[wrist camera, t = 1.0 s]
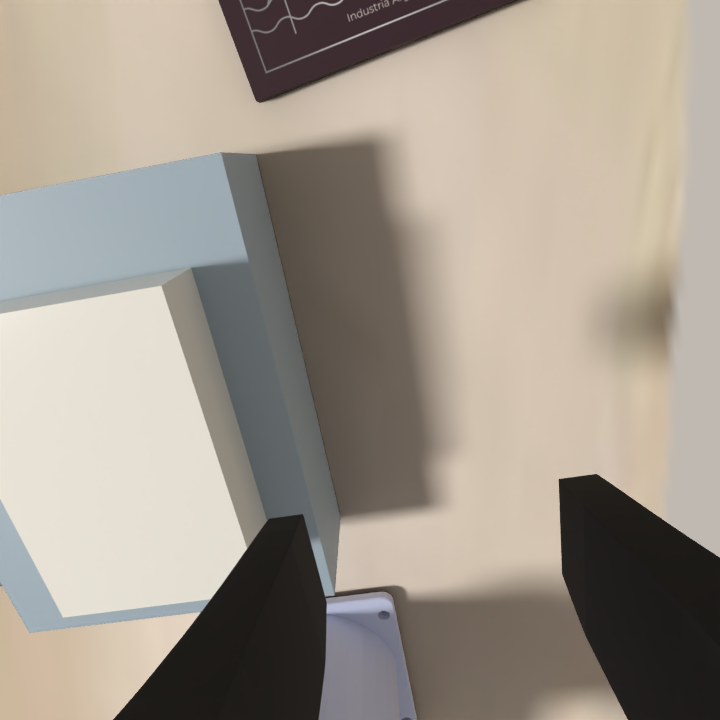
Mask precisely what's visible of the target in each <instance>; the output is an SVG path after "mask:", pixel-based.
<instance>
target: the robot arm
mask: <svg viewBox="0 0 720 720" xmlns="http://www.w3.org/2000/svg"><path fill="white" fill-rule="evenodd" d="M559 497H560V525H561V553H562V575H563V577H564V580H565V583H566V586H567V588H568V591H569V594H570V596H571V599H572V602H573V604H574V607H575V610H576V612H577V615H578V617H579V620H580V623H581V625H582V628H583V630H584V633H585V635H586V637H587V639H588V641H589V643H590V645H591V648H592V650H593V652H594V654H595V656H596V658H597V660H598V661H599V663H600V665H601V667H602V669H603V671H604V673H605V675H606V677H607V679H608V681H609V683H610V685H611V687H612V689H613V691H614V693H615V695H616V697H617V699H618V701H619V703H620V705H621V707H622V709H623V711H624V713H625V715H626V717H627V719H628V720H720V558H719V557H718V556H716V555H715V554H713V553H712V552H710V551H709V550H707V549H706V548H704V547H703V546H701V545H699V544H698V543H697V542H695V541H693V540H692V539H690V538H689V537H687V536H686V535H685V534H683V533H682V532H680V531H678V530H677V529H676V528H674V527H673V526H671V525H670V524H668V523H667V522H665V521H664V520H662V519H661V518H660V517H658V516H657V515H655V514H654V513H652V512H651V511H649V510H648V509H646V508H645V507H644V506H642V505H641V504H639V503H638V502H636V501H635V500H634V499H632V498H631V497H629V496H628V495H626V494H625V493H624V492H622V491H621V490H619V489H618V488H616V487H615V486H613V485H612V484H611V483H609V482H608V481H606V480H605V479H603V478H602V477H600V476H599V475H597V474H594V475H587V476H579V477H572V478H564V479H559ZM381 611H387V612H381ZM113 720H417V715H416V710H415V705H414V700H413V695H412V690H411V685H410V680H409V675H408V670H407V665H406V660H405V655H404V650H403V645H402V640H401V635H400V630H399V625H398V620H397V615H396V610H395V605H394V601H393V598H392V596H391V595H390V594H389V593H386V592H374V593H365V594H357V595H349V596H341V597H333V598H325V594H324V590H323V587H322V583H321V579H320V575H319V572H318V568H317V564H316V560H315V557H314V553H313V549H312V545H311V542H310V538H309V534H308V530H307V526H306V523H305V519H304V515H303V514H299V515H292V516H285V517H277V518H270V519H268V521H267V522H266V523H265V524H264V526H263V527H262V528H261V530H260V531H259V533H258V534H257V535H256V537H255V538H254V540H253V541H252V542H251V544H250V545H249V547H248V548H247V550H246V551H245V552H244V554H243V555H242V557H241V558H240V559H239V561H238V562H237V564H236V565H235V567H234V568H233V569H232V571H231V572H230V574H229V575H228V576H227V578H226V579H225V581H224V582H223V583H222V585H221V586H220V587H219V589H218V590H217V591H216V593H215V594H214V595H213V597H212V598H211V600H210V601H209V602H208V604H207V605H206V606H205V608H204V609H203V610H202V612H201V613H200V614H199V616H198V617H197V618H196V620H195V621H194V622H193V624H192V625H191V626H190V628H189V629H188V630H187V631H186V633H185V634H184V635H183V637H182V638H181V639H180V640H179V642H178V643H177V644H176V645H175V646H174V648H173V649H172V650H171V651H170V653H169V654H168V655H167V656H166V658H165V659H164V660H163V661H162V663H161V664H160V665H159V666H158V667H157V669H156V670H155V671H154V672H153V674H152V675H151V676H150V677H149V679H148V680H147V681H146V682H145V683H144V685H143V686H142V687H141V688H140V689H139V691H138V692H137V693H136V694H135V695H134V696H133V698H132V699H131V700H130V701H129V702H128V703H127V704H126V706H125V707H124V708H123V709H122V710H121V711H120V713H119V714H118V715H117V716H116V717H115V718H114V719H113Z"/></svg>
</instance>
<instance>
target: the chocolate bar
mask: <svg viewBox="0 0 720 720" xmlns="http://www.w3.org/2000/svg"><path fill="white" fill-rule="evenodd" d="M515 1H517V0H219V3H220V6H221V8H222V11H223V14H224V16H225V19H226V22H227V25H228V27H229V30H230V33H231V35H232V38H233V41H234V43H235V46H236V49H237V51H238V54H239V57H240V59H241V62H242V65H243V67H244V70H245V73H246V75H247V78H248V81H249V83H250V86H251V89H252V91H253V94H254V97H255V99H256V101H257V102H259V103H260V102H263V101H265V100H268V99H270V98H273V97H275V96H278V95H280V94H283V93H285V92H288V91H290V90H293V89H295V88H298V87H300V86H303V85H305V84H308V83H310V82H313V81H316V80H318V79H321V78H323V77H326V76H328V75H331V74H333V73H336V72H338V71H341V70H343V69H346V68H348V67H351V66H353V65H356V64H358V63H361V62H363V61H366V60H368V59H371V58H374V57H376V56H379V55H381V54H384V53H386V52H389V51H391V50H394V49H396V48H399V47H401V46H404V45H406V44H409V43H411V42H414V41H416V40H419V39H421V38H424V37H427V36H429V35H432V34H434V33H437V32H439V31H442V30H444V29H447V28H449V27H452V26H454V25H457V24H459V23H462V22H464V21H467V20H469V19H472V18H474V17H477V16H479V15H482V14H485V13H487V12H490V11H492V10H495V9H497V8H500V7H502V6H505V5H507V4H510V3H512V2H515Z"/></svg>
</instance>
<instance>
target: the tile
mask: <svg viewBox="0 0 720 720" xmlns="http://www.w3.org/2000/svg"><path fill="white" fill-rule="evenodd" d="M0 500H1V502H2V503H3V505H4V507H5V509H6V511H7V513H8V515H9V517H10V519H11V520H12V522H13V524H14V526H15V528H16V530H17V532H18V534H19V535H20V537H21V539H22V541H23V543H24V545H25V547H26V549H27V551H28V552H29V554H30V556H31V558H32V560H33V562H34V564H35V566H36V568H37V569H38V571H39V573H40V575H41V577H42V579H43V581H44V583H45V584H46V586H47V588H48V590H49V592H50V594H51V596H52V598H53V600H54V601H55V603H56V605H57V607H58V609H59V611H60V613H61V615H62V616H63V618H64V617H72V616H80V615H88V614H96V613H104V612H112V611H120V610H129V609H137V608H145V607H153V606H161V605H169V604H177V603H185V602H193V601H201V600H209V599H211V598H212V597H213V595H214V594H215V593H216V591H217V590H218V589H219V587H220V586H221V585H222V583H223V582H224V581H225V579H226V578H227V576H228V575H229V574H230V572H231V571H232V569H233V568H234V567H235V565H236V564H237V562H238V561H239V559H240V558H241V557H242V555H243V554H244V552H245V551H246V550H247V548H248V547H249V545H250V544H251V542H252V541H253V540H254V538H255V537H256V535H257V534H258V533H259V531H260V530H261V528H262V527H263V526H264V524H265V523H266V522H267V519H266V515H265V512H264V509H263V505H262V502H261V499H260V495H259V492H258V489H257V485H256V482H255V479H254V475H253V472H252V469H251V465H250V462H249V459H248V455H247V452H246V449H245V445H244V442H243V439H242V435H241V432H240V429H239V425H238V422H237V419H236V415H235V412H234V409H233V405H232V402H231V399H230V395H229V392H228V389H227V385H226V382H225V379H224V375H223V372H222V369H221V365H220V362H219V359H218V355H217V352H216V349H215V345H214V342H213V339H212V335H211V332H210V329H209V325H208V322H207V319H206V315H205V312H204V309H203V305H202V302H201V299H200V295H199V292H198V289H197V286H196V282H195V279H194V276H193V272H192V269H191V268H186V269H180V270H174V271H169V272H163V273H158V274H152V275H146V276H141V277H135V278H129V279H124V280H118V281H112V282H107V283H101V284H96V285H90V286H84V287H79V288H73V289H67V290H62V291H56V292H50V293H45V294H39V295H33V296H28V297H22V298H17V299H11V300H5V301H0Z"/></svg>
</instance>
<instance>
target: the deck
mask: <svg viewBox="0 0 720 720" xmlns="http://www.w3.org/2000/svg"><path fill="white" fill-rule="evenodd" d="M186 268H191V269H192V272H193V276H194V279H195V282H196V286H197V289H198V292H199V295H200V299H201V302H202V305H203V309H204V312H205V315H206V319H207V322H208V325H209V329H210V332H211V335H212V339H213V342H214V345H215V349H216V352H217V355H218V359H219V362H220V365H221V369H222V372H223V375H224V379H225V382H226V385H227V389H228V392H229V395H230V399H231V402H232V405H233V409H234V412H235V415H236V419H237V422H238V425H239V429H240V432H241V435H242V439H243V442H244V445H245V449H246V452H247V455H248V459H249V462H250V465H251V469H252V472H253V475H254V479H255V482H256V485H257V489H258V492H259V495H260V499H261V502H262V505H263V509H264V512H265V515H266V519H267V521H268V519H270V518H277V517H285V516H292V515H299V514H303V515H304V519H305V523H306V526H307V530H308V534H309V538H310V542H311V545H312V549H313V553H314V557H315V560H316V564H317V568H318V572H319V575H320V579H321V583H322V587H323V590H324V594H325V597H326V596H334V595H335V583H336V570H337V556H338V543H339V530H340V513H339V509H338V504H337V500H336V496H335V491H334V487H333V483H332V479H331V474H330V470H329V466H328V461H327V457H326V453H325V449H324V444H323V440H322V436H321V431H320V427H319V423H318V419H317V414H316V410H315V406H314V401H313V397H312V393H311V389H310V384H309V380H308V376H307V371H306V367H305V363H304V359H303V354H302V350H301V346H300V341H299V337H298V333H297V329H296V324H295V320H294V316H293V311H292V307H291V303H290V299H289V294H288V290H287V286H286V281H285V277H284V273H283V269H282V264H281V260H280V256H279V251H278V247H277V243H276V239H275V234H274V230H273V226H272V221H271V217H270V213H269V209H268V204H267V200H266V196H265V191H264V187H263V183H262V179H261V174H260V170H259V166H258V161H257V157H256V154H239V153H216V154H211V155H205V156H200V157H195V158H190V159H185V160H180V161H175V162H169V163H164V164H159V165H154V166H149V167H144V168H139V169H133V170H128V171H123V172H118V173H113V174H108V175H103V176H97V177H92V178H87V179H82V180H77V181H72V182H67V183H62V184H56V185H51V186H46V187H41V188H36V189H31V190H26V191H20V192H15V193H10V194H5V195H0V301H5V300H11V299H17V298H22V297H28V296H33V295H39V294H45V293H50V292H56V291H62V290H67V289H73V288H79V287H84V286H90V285H96V284H101V283H107V282H112V281H118V280H124V279H129V278H135V277H141V276H146V275H152V274H158V273H163V272H169V271H174V270H180V269H186ZM0 582H1V584H2V586H3V588H4V589H5V591H6V593H7V595H8V596H9V598H10V600H11V602H12V603H13V605H14V607H15V609H16V610H17V612H18V614H19V616H20V617H21V619H22V621H23V622H24V624H25V626H26V628H27V629H28V631H29V633H32V632H40V631H49V630H57V629H65V628H73V627H81V626H89V625H98V624H106V623H114V622H122V621H130V620H138V619H147V618H155V617H163V616H171V615H179V614H187V613H196V612H202V610H203V609H204V608H205V606H206V605H207V604H208V602H209V601H210V600H211V599H209V600H201V601H193V602H185V603H177V604H169V605H161V606H153V607H145V608H137V609H129V610H120V611H112V612H104V613H96V614H88V615H80V616H72V617H64V618H63V616H62V615H61V613H60V611H59V609H58V607H57V605H56V603H55V601H54V600H53V598H52V596H51V594H50V592H49V590H48V588H47V586H46V584H45V583H44V581H43V579H42V577H41V575H40V573H39V571H38V569H37V568H36V566H35V564H34V562H33V560H32V558H31V556H30V554H29V552H28V551H27V549H26V547H25V545H24V543H23V541H22V539H21V537H20V535H19V534H18V532H17V530H16V528H15V526H14V524H13V522H12V520H11V519H10V517H9V515H8V513H7V511H6V509H5V507H4V505H3V503H2V502H1V500H0Z"/></svg>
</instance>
